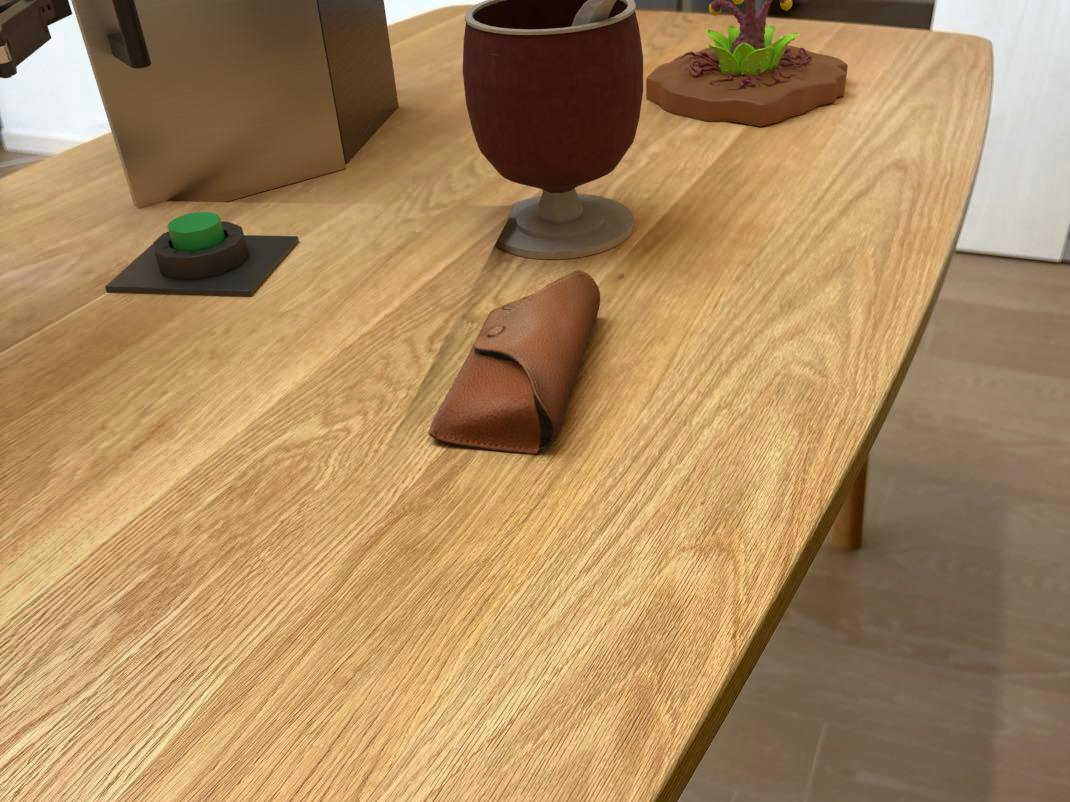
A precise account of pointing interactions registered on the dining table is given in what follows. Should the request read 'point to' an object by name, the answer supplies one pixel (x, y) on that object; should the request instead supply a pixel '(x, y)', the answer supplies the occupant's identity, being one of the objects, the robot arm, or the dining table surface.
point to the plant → (747, 74)
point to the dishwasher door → (213, 95)
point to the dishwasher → (358, 68)
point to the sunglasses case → (521, 370)
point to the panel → (205, 266)
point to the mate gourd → (555, 114)
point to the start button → (196, 231)
